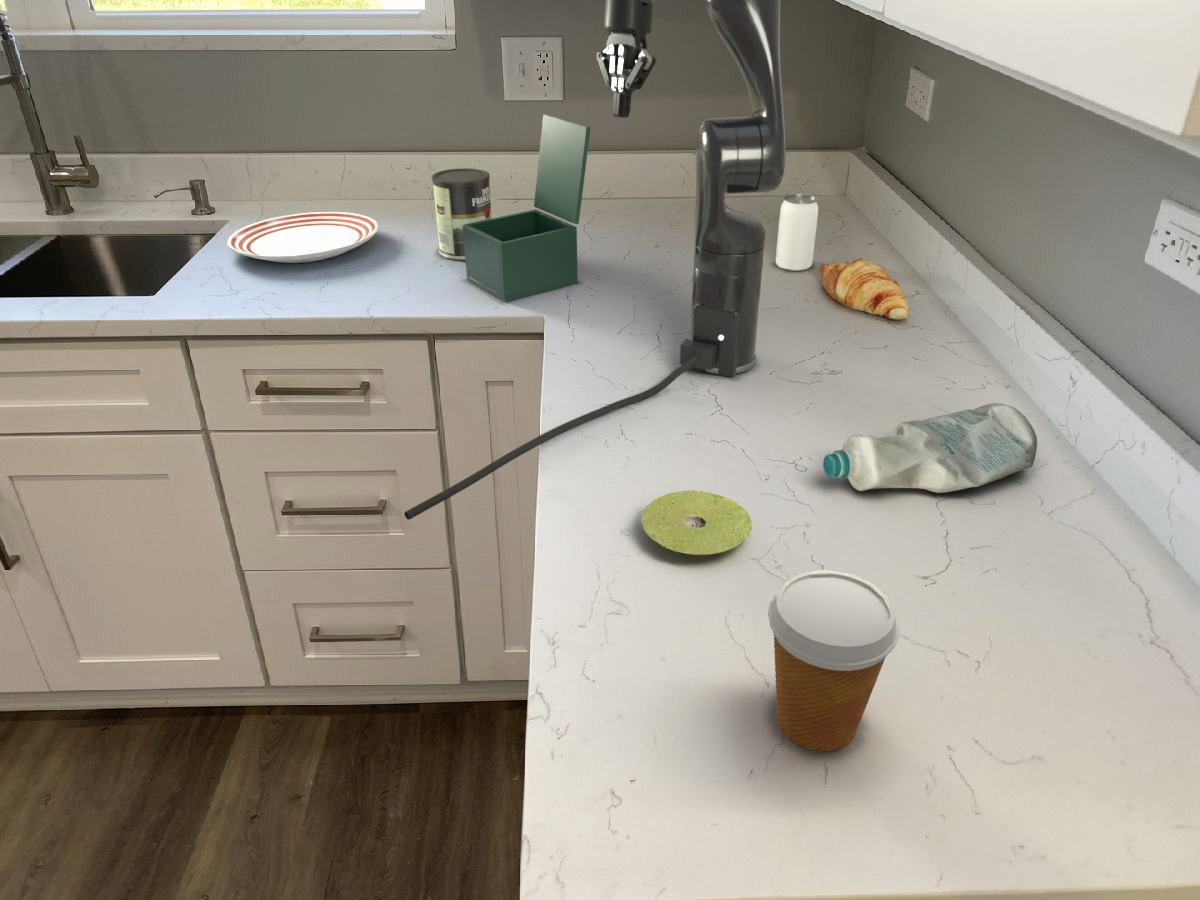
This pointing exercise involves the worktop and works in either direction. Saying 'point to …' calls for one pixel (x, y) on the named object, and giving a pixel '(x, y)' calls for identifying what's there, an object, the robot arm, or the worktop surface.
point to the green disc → (696, 522)
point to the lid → (561, 167)
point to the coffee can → (459, 206)
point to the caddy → (520, 254)
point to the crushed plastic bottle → (939, 452)
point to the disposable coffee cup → (828, 654)
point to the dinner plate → (303, 236)
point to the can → (797, 232)
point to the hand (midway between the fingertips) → (620, 116)
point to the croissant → (865, 288)
